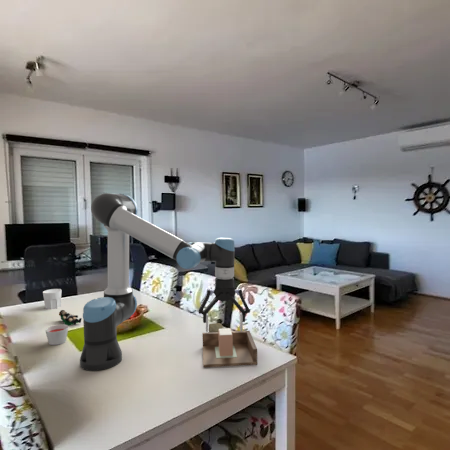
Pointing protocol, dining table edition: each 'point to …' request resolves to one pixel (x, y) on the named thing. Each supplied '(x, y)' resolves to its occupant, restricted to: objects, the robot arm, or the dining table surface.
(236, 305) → the robot arm
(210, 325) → the stone block
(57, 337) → the candle
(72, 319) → the figurine
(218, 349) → the sage pad
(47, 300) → the cup
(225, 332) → the terracotta block
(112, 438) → the dining table surface
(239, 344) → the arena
